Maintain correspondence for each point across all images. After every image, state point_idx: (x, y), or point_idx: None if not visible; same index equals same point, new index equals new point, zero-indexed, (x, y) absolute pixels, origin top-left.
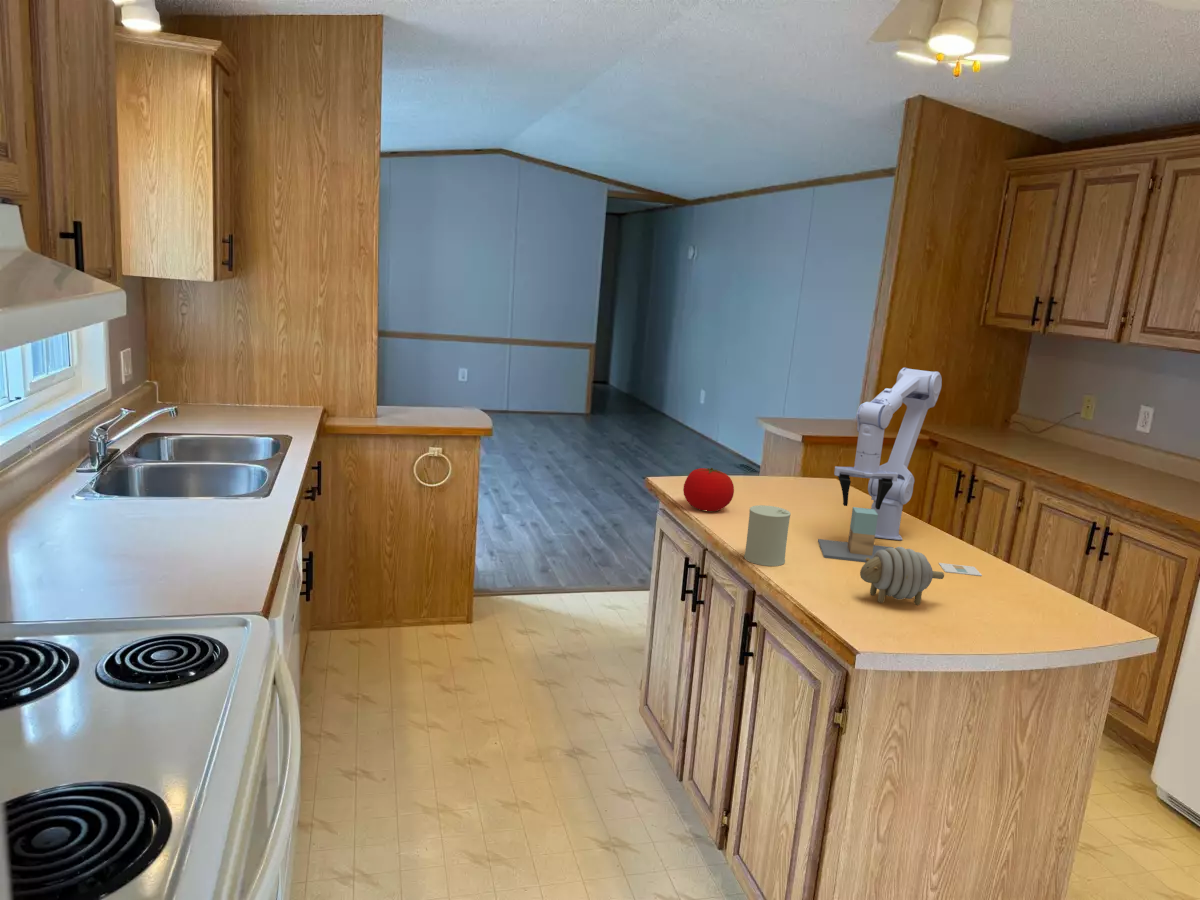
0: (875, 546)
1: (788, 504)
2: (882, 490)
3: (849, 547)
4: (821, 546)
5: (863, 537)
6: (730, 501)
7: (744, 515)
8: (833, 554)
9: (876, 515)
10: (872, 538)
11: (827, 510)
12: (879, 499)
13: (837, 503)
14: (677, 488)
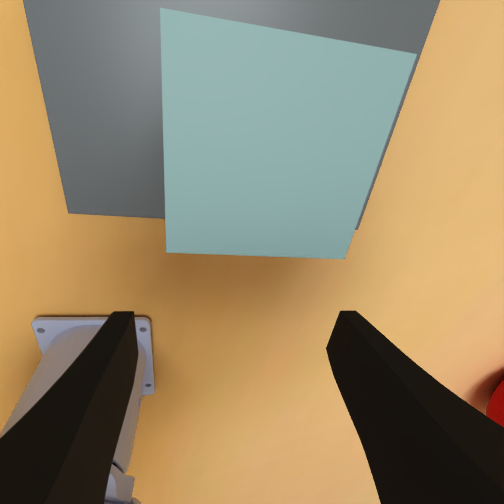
0: (147, 201)
1: (305, 457)
2: (30, 490)
3: None
4: (390, 133)
5: None
6: (501, 402)
7: (452, 371)
8: (393, 2)
9: (179, 13)
10: None
11: (226, 456)
12: (100, 373)
13: (191, 492)
14: None
